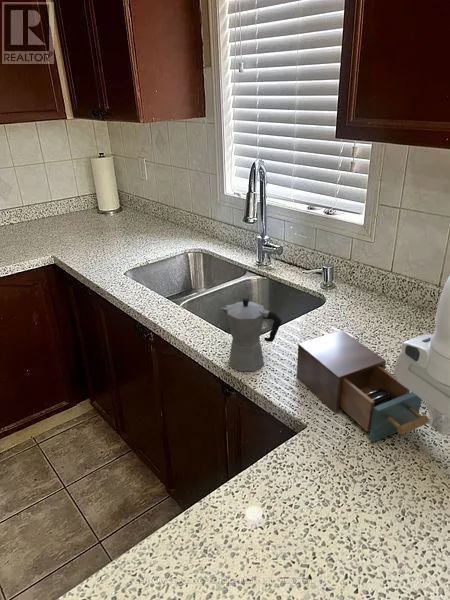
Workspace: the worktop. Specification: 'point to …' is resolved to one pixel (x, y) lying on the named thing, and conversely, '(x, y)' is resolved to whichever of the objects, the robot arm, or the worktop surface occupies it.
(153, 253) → the worktop surface
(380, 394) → the clip
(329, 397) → the cabinet
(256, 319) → the coffeepot
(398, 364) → the robot arm
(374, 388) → the drawer
